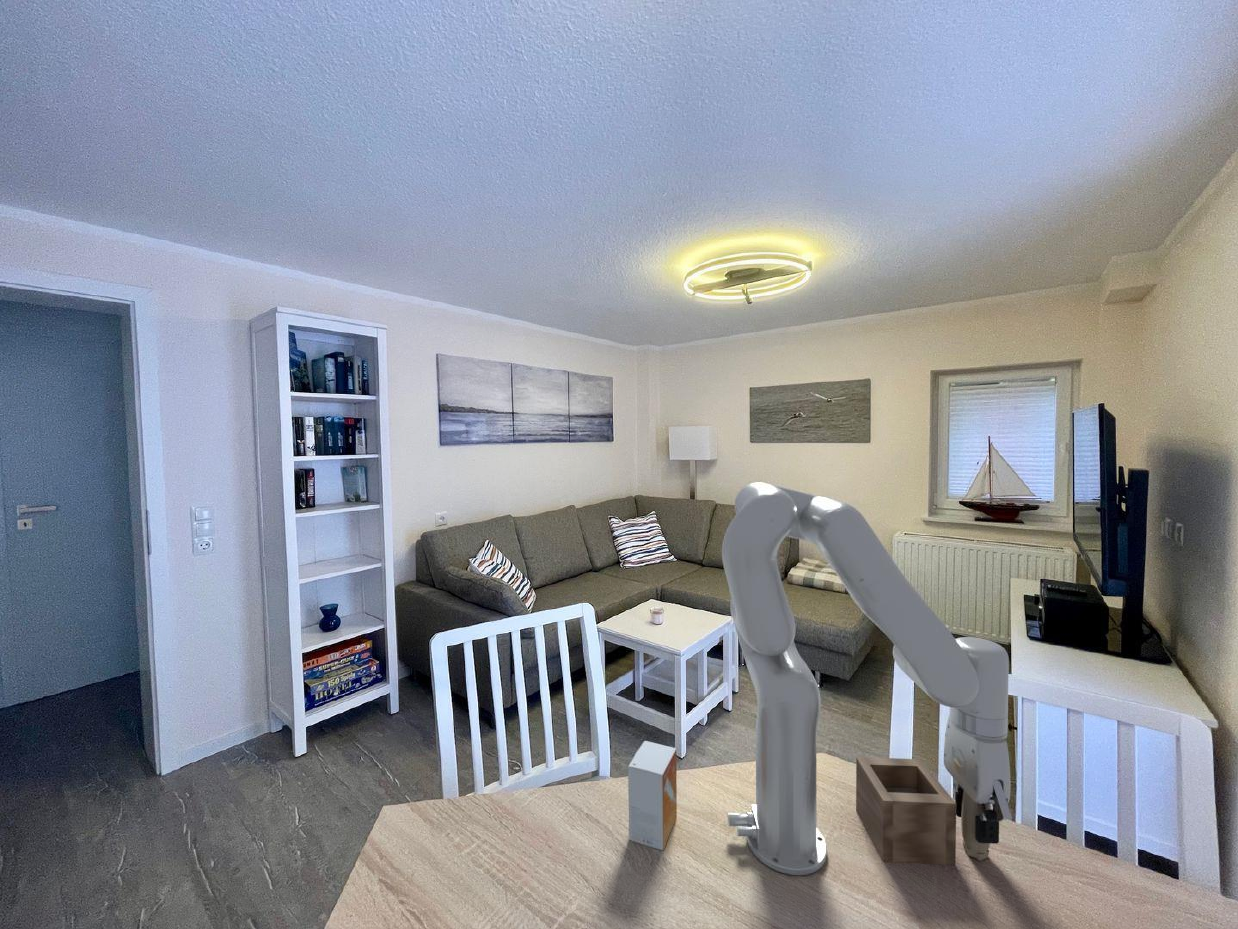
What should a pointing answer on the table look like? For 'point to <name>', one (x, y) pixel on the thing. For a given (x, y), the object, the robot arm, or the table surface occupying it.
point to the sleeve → (906, 811)
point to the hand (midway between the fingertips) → (976, 827)
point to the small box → (652, 794)
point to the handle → (971, 823)
